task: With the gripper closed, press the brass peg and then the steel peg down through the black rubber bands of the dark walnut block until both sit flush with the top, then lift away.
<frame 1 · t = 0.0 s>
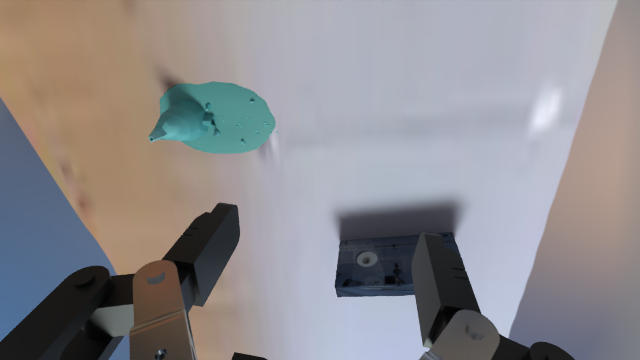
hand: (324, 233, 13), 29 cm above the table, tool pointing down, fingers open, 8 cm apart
diorama: (218, 118, 44), on the table
vhs cassette tape: (394, 241, 50), on the table
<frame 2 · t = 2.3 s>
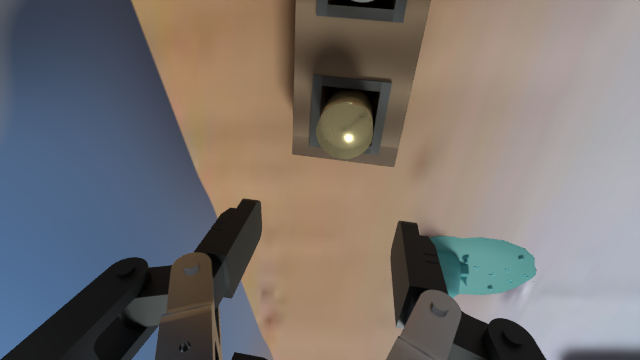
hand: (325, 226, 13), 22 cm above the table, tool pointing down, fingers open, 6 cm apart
diorama: (466, 264, 42), on the table
brass peg: (346, 121, 26), point 8 cm above the table, slide at 4.0 cm
walnut block: (358, 42, 29), on the table
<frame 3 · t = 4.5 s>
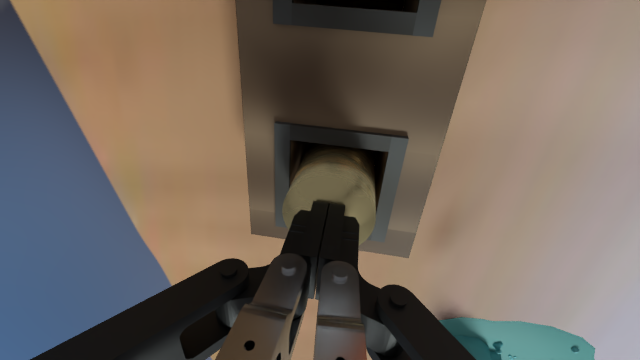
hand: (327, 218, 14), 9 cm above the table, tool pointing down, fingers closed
diorama: (497, 349, 31), on the table
brass peg: (334, 186, 16), point 6 cm above the table, slide at 2.6 cm, touching gripper
walnut block: (352, 62, 19), on the table
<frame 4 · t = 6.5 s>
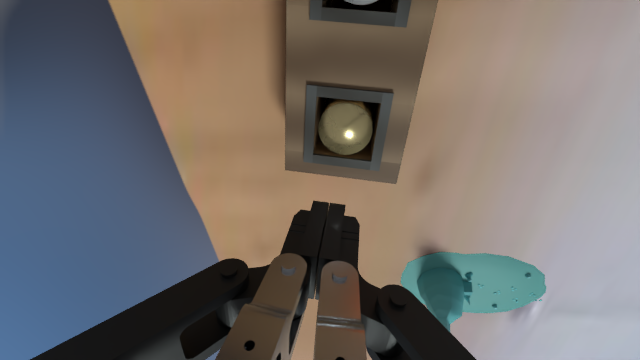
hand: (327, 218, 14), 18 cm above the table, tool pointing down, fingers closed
diorama: (469, 281, 39), on the table
brass peg: (347, 119, 27), point 3 cm above the table, slide at -0.1 cm
walnut block: (356, 48, 27), on the table
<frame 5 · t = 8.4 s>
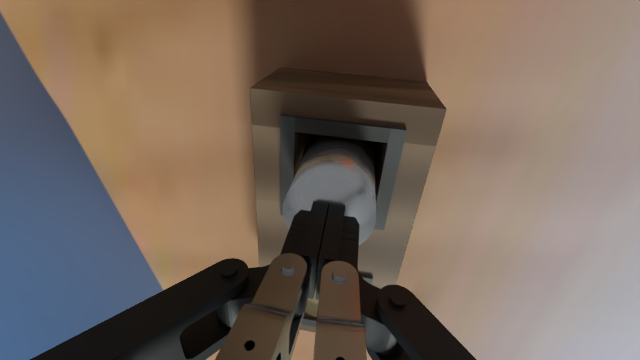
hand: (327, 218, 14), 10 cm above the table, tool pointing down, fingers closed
steel peg: (334, 186, 16), point 7 cm above the table, slide at 3.7 cm, touching gripper
brass peg: (327, 272, 25), point 3 cm above the table, slide at -0.1 cm
walnut block: (337, 196, 25), on the table
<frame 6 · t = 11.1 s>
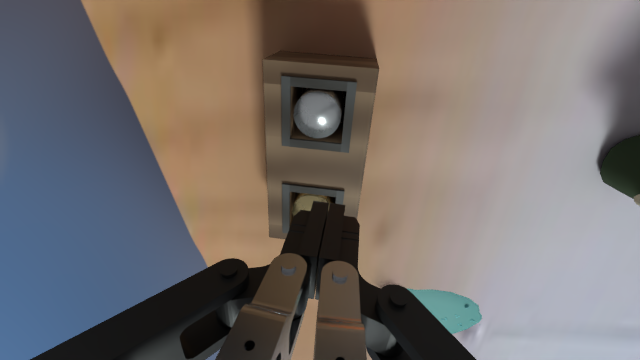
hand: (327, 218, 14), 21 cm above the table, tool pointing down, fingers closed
steel peg: (320, 107, 30), point 3 cm above the table, slide at -0.1 cm
diorama: (422, 309, 48), on the table
brass peg: (315, 199, 35), point 3 cm above the table, slide at -0.1 cm
character mug: (628, 159, 32), on the table
walnut block: (321, 145, 36), on the table
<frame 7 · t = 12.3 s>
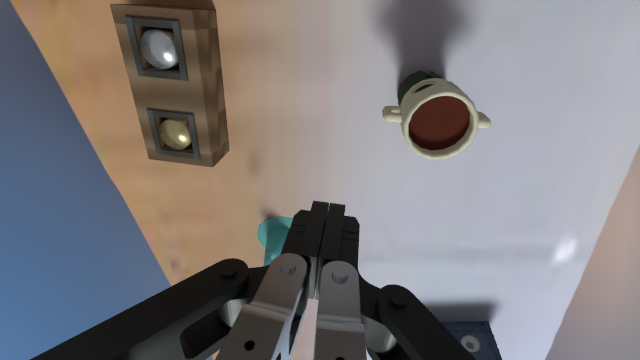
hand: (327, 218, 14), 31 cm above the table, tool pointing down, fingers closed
steel peg: (170, 47, 39), point 3 cm above the table, slide at -0.1 cm
diorama: (303, 238, 57), on the table
brass peg: (184, 128, 44), point 3 cm above the table, slide at -0.1 cm
character mug: (420, 93, 40), on the table
vhs cassette tape: (440, 324, 63), on the table
walnut block: (190, 84, 44), on the table
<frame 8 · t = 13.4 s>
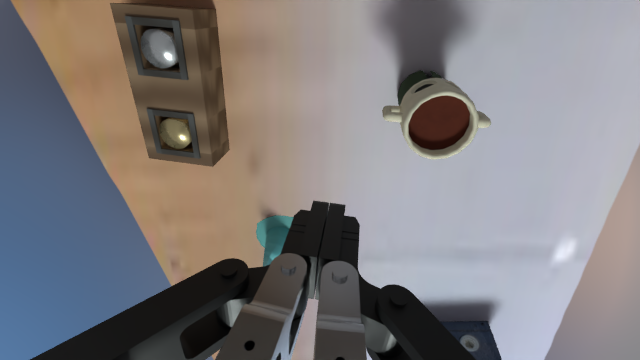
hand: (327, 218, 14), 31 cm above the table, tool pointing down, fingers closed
steel peg: (170, 46, 39), point 3 cm above the table, slide at -0.1 cm
diorama: (302, 237, 57), on the table
brass peg: (184, 127, 44), point 3 cm above the table, slide at -0.1 cm
character mug: (420, 93, 40), on the table
vhs cassette tape: (439, 324, 63), on the table
walnut block: (191, 84, 44), on the table
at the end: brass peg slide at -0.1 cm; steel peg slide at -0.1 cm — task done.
